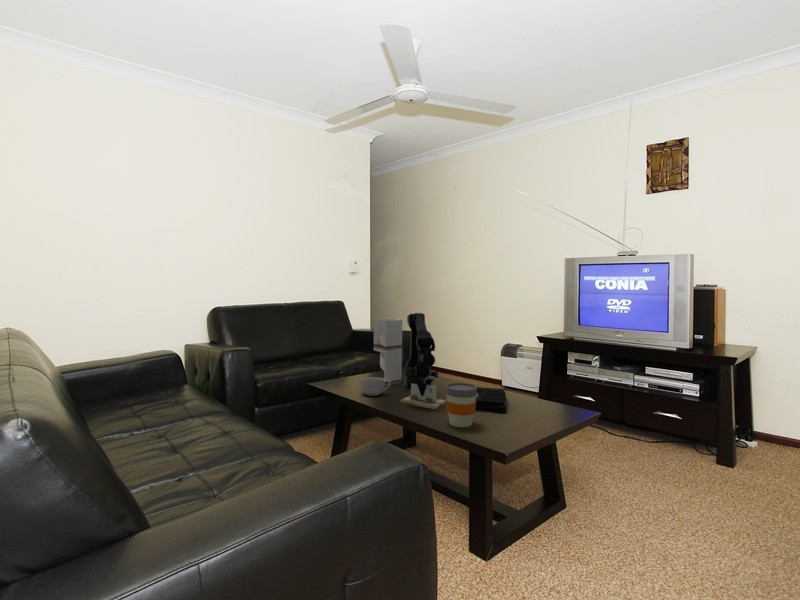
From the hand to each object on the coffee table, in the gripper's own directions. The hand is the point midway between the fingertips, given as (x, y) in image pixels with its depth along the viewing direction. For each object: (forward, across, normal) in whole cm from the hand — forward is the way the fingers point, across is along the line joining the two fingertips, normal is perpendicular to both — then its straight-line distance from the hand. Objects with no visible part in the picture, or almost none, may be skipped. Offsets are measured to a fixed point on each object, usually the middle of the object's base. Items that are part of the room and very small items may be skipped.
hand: (423, 395), depth 204 cm
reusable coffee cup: (+4, +17, +26) cm, 31 cm away
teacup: (+4, +1, -26) cm, 26 cm away
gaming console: (+4, -15, +24) cm, 29 cm away
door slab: (+2, 0, 0) cm, 2 cm away
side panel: (+4, 0, 0) cm, 4 cm away
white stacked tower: (+4, -23, -35) cm, 42 cm away
